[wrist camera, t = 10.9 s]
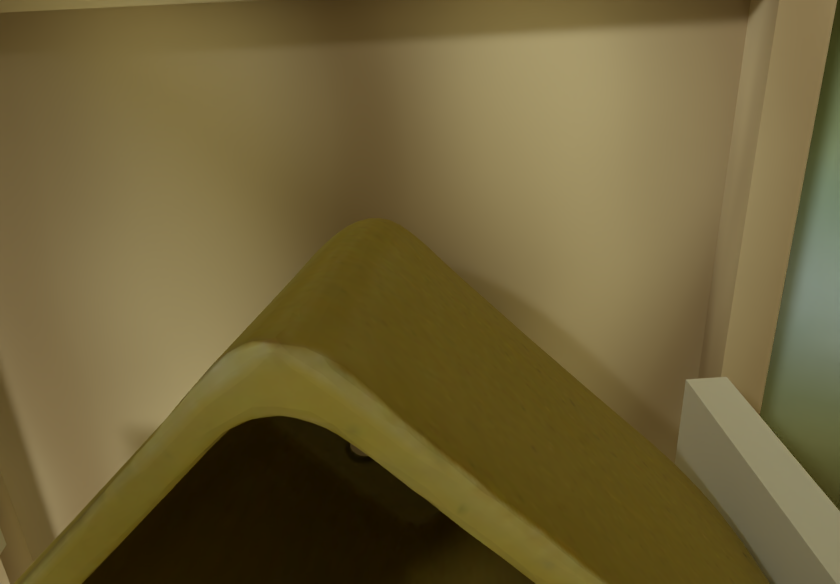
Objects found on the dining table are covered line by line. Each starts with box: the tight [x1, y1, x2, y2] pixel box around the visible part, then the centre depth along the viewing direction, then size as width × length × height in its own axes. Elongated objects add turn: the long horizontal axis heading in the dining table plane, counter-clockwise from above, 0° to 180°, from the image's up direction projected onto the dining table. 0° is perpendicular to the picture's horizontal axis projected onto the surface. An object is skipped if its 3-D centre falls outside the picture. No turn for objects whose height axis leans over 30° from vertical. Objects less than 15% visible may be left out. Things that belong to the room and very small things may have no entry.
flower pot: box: [14, 218, 770, 584], centre depth 11 cm, size 9×9×9 cm
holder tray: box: [0, 0, 837, 584], centre depth 16 cm, size 18×18×2 cm
